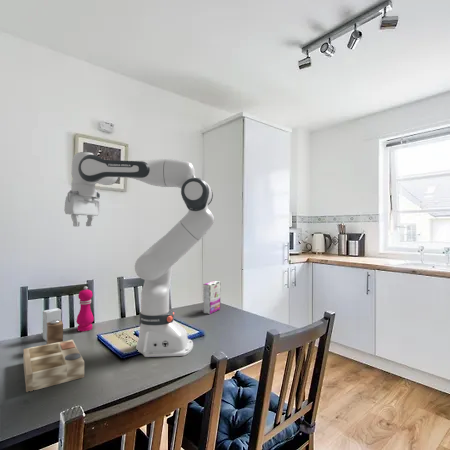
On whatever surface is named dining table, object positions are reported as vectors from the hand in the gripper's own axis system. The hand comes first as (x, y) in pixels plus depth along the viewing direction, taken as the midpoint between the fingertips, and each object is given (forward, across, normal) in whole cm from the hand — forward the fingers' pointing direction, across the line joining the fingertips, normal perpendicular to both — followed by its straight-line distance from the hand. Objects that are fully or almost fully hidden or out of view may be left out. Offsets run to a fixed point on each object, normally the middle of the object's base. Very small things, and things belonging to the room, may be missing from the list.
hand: (82, 226), depth 122 cm
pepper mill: (+48, +16, +7) cm, 51 cm away
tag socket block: (+48, -22, -3) cm, 53 cm away
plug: (+48, -6, +7) cm, 49 cm away
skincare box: (+48, +4, +15) cm, 51 cm away
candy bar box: (+48, +52, -48) cm, 85 cm away
